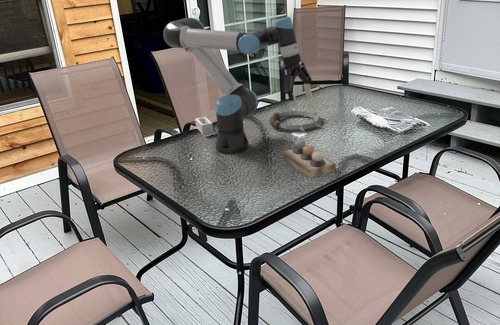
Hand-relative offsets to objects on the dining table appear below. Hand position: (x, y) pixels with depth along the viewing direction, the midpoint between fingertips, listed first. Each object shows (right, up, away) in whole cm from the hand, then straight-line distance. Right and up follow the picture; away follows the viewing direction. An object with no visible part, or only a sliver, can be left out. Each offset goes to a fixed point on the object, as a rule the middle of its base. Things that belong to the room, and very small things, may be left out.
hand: (302, 102), depth 197 cm
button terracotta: (+1, -22, -16) cm, 27 cm away
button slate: (-2, -20, -9) cm, 22 cm away
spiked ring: (+2, -7, +34) cm, 34 cm away
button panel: (+1, -27, -14) cm, 30 cm away
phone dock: (-46, -11, +32) cm, 57 cm away
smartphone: (-46, -11, +32) cm, 57 cm away
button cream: (+3, -25, -22) cm, 33 cm away
